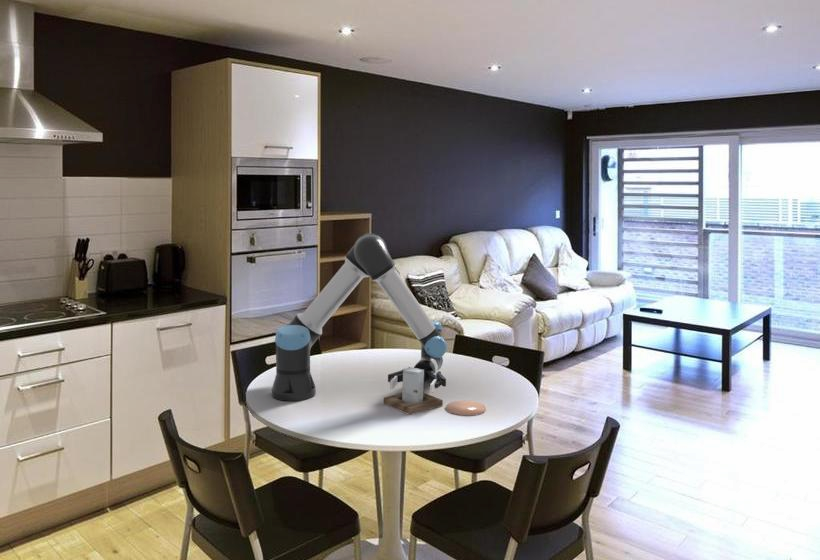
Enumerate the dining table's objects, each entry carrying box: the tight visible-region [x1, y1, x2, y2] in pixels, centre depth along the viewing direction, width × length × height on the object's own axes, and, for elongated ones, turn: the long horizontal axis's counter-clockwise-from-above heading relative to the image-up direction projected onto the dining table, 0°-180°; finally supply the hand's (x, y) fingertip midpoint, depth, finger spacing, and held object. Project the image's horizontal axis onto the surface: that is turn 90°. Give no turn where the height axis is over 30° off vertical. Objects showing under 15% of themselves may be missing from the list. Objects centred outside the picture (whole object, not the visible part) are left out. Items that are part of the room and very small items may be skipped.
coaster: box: [445, 400, 487, 416], centre depth 216 cm, size 13×13×1 cm
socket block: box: [383, 392, 444, 415], centre depth 220 cm, size 14×14×2 cm
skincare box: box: [401, 366, 425, 404], centre depth 219 cm, size 6×4×12 cm
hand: (411, 387), depth 216 cm, fingers open, 13 cm apart
